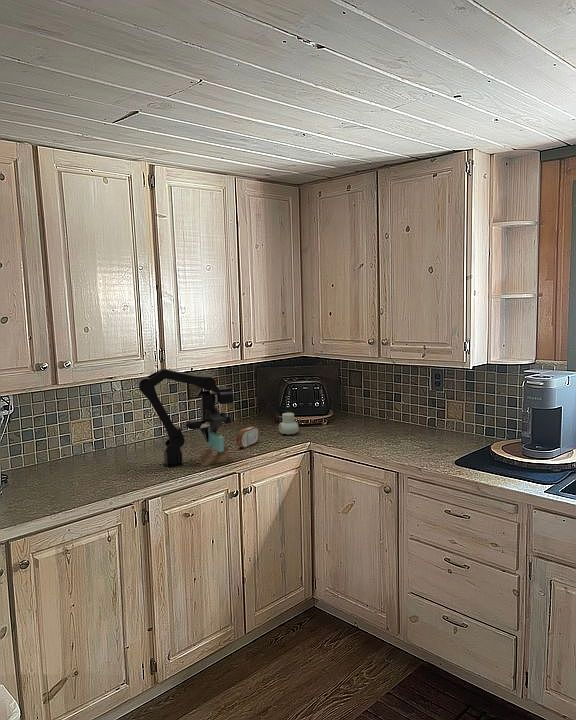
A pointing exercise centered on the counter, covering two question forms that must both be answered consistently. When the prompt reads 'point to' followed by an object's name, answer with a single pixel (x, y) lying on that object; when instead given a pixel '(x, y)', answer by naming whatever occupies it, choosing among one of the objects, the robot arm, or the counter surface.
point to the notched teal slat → (215, 441)
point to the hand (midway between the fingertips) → (209, 441)
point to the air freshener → (288, 424)
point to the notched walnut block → (209, 459)
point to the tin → (247, 436)
